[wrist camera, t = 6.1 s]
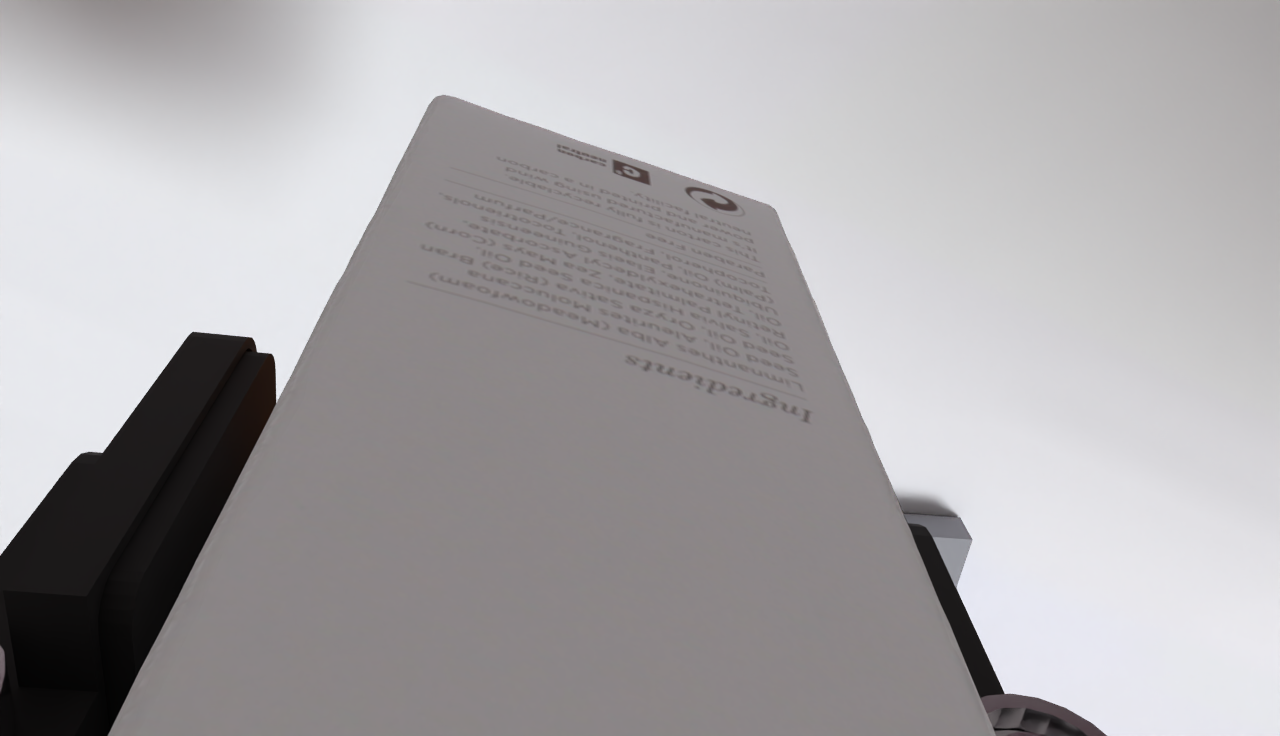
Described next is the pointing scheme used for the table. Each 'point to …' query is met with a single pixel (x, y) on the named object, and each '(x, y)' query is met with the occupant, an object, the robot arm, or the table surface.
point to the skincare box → (560, 484)
